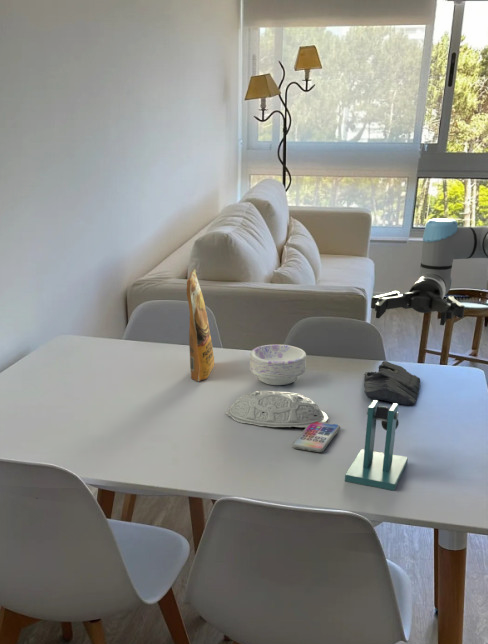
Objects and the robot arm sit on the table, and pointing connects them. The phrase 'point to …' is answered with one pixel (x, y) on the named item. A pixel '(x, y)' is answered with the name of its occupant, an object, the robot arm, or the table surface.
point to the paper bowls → (277, 363)
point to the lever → (383, 416)
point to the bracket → (378, 455)
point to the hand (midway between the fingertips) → (409, 315)
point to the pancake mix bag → (199, 332)
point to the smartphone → (316, 436)
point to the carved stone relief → (276, 409)
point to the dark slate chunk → (392, 384)
